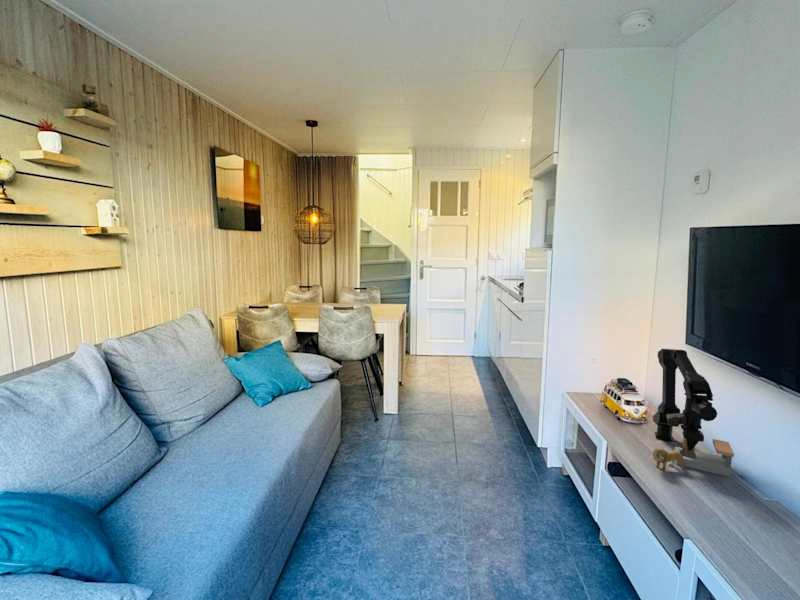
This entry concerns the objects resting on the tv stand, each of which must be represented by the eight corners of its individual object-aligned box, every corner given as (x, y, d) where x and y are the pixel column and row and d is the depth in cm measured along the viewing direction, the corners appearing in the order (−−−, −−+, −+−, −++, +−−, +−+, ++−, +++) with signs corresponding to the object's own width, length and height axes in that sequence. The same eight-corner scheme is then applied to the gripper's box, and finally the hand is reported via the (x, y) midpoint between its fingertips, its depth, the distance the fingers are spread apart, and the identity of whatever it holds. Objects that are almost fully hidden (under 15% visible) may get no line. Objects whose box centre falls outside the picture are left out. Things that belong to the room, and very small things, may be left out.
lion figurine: (659, 474, 158) (661, 452, 157) (646, 467, 163) (649, 445, 162) (688, 469, 162) (691, 447, 161) (676, 462, 167) (678, 440, 166)
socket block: (674, 453, 175) (675, 446, 174) (725, 464, 166) (726, 457, 166) (676, 464, 166) (677, 457, 165) (730, 476, 158) (731, 469, 157)
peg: (681, 448, 171) (683, 431, 170) (693, 450, 169) (695, 434, 168) (682, 452, 167) (684, 435, 166) (694, 455, 165) (696, 438, 164)
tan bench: (709, 460, 169) (712, 438, 168) (725, 464, 167) (728, 442, 166) (714, 473, 160) (717, 450, 158) (730, 477, 157) (734, 454, 156)
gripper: (667, 398, 177) (663, 434, 180) (670, 414, 161) (666, 453, 163) (700, 404, 172) (695, 440, 174) (706, 420, 156) (701, 460, 158)
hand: (688, 448), depth 168 cm, fingers closed on peg, 4 cm apart
